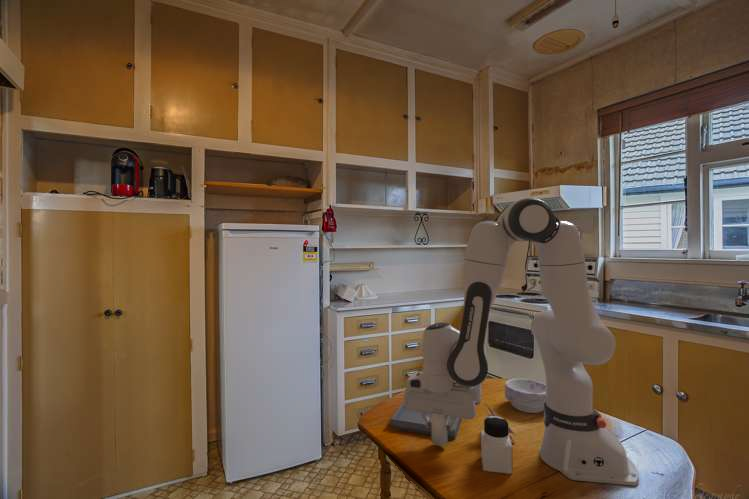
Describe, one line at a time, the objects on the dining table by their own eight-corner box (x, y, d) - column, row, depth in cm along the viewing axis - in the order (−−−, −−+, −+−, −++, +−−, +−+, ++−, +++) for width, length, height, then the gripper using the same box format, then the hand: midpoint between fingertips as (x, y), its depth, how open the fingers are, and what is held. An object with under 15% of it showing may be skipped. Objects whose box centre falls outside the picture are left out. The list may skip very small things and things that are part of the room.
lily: (514, 459, 103) (527, 425, 105) (473, 437, 106) (486, 404, 108) (506, 450, 114) (517, 419, 116) (469, 430, 117) (481, 400, 119)
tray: (462, 416, 126) (462, 407, 126) (455, 439, 111) (455, 429, 111) (404, 407, 133) (404, 398, 133) (390, 428, 118) (390, 418, 118)
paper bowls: (554, 404, 135) (554, 382, 135) (547, 421, 122) (547, 397, 122) (510, 395, 143) (510, 374, 143) (499, 410, 130) (499, 387, 130)
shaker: (449, 438, 109) (448, 404, 108) (446, 446, 104) (445, 411, 104) (433, 435, 110) (432, 402, 110) (429, 443, 106) (429, 408, 106)
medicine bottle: (512, 474, 94) (512, 427, 94) (483, 471, 96) (483, 424, 95) (508, 458, 101) (508, 414, 101) (481, 455, 103) (480, 412, 102)
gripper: (477, 380, 106) (478, 429, 106) (407, 373, 114) (408, 418, 114) (474, 388, 100) (475, 440, 100) (401, 380, 108) (402, 428, 108)
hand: (439, 428), depth 107 cm, fingers closed on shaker, 5 cm apart
